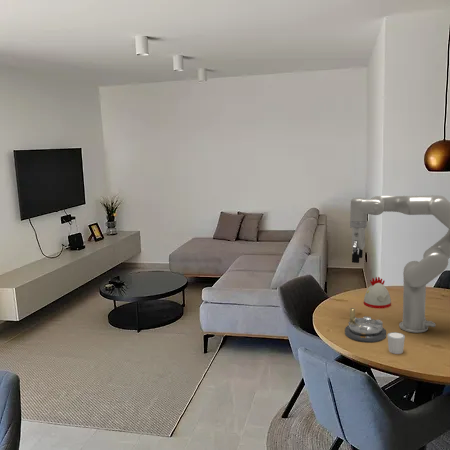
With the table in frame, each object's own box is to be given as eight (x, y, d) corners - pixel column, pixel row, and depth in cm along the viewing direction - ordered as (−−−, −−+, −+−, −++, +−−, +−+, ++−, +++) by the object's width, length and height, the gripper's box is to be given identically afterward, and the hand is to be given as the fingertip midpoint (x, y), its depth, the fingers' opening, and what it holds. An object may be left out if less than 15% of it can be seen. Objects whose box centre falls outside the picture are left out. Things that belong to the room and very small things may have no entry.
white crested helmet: (359, 301, 264) (359, 274, 262) (382, 298, 267) (382, 272, 264) (371, 309, 251) (372, 281, 248) (396, 306, 253) (396, 279, 251)
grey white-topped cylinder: (390, 346, 207) (391, 330, 206) (406, 350, 203) (407, 334, 201) (384, 352, 202) (384, 336, 201) (401, 356, 197) (401, 339, 196)
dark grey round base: (387, 329, 225) (387, 324, 225) (384, 344, 209) (384, 339, 208) (348, 324, 232) (348, 320, 232) (342, 339, 216) (342, 334, 215)
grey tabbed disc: (383, 325, 224) (384, 306, 222) (380, 337, 210) (381, 317, 209) (351, 321, 229) (351, 303, 228) (346, 333, 216) (346, 314, 214)
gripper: (363, 228, 215) (362, 265, 218) (369, 221, 231) (368, 256, 234) (346, 227, 218) (345, 263, 221) (353, 220, 234) (352, 255, 237)
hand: (357, 260), depth 227 cm, fingers open, 9 cm apart
